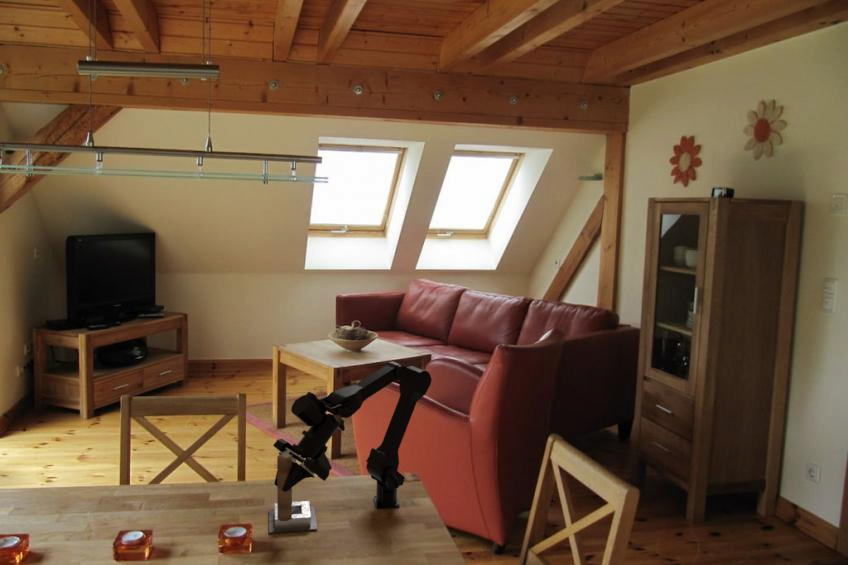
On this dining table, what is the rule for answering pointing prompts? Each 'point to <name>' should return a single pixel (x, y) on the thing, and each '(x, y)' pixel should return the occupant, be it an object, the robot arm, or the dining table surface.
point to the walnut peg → (282, 497)
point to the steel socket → (294, 519)
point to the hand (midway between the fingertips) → (279, 488)
